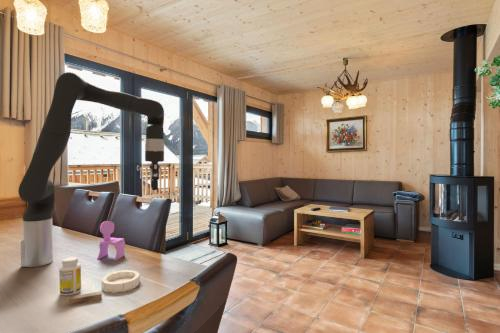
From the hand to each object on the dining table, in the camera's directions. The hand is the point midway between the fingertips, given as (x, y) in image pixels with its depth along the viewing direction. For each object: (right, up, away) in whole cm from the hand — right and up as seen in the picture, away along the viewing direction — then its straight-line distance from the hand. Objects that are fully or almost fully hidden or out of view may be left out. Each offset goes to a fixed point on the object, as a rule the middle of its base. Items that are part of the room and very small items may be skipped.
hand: (154, 188), depth 122 cm
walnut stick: (-7, -29, -39) cm, 49 cm away
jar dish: (-2, -29, -28) cm, 40 cm away
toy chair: (-17, -28, -2) cm, 33 cm away
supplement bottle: (-15, -29, -33) cm, 47 cm away
